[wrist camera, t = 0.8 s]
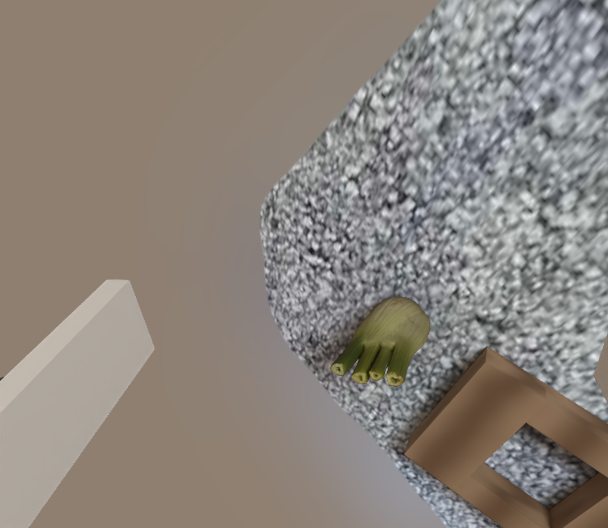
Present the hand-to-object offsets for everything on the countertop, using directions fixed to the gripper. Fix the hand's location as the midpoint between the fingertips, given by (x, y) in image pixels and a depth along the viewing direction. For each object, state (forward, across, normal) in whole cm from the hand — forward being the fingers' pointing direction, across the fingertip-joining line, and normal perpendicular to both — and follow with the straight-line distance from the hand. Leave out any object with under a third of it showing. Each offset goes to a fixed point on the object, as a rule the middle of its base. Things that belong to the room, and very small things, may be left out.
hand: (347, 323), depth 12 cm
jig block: (+19, -15, +31) cm, 40 cm away
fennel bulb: (+26, -2, +19) cm, 32 cm away
